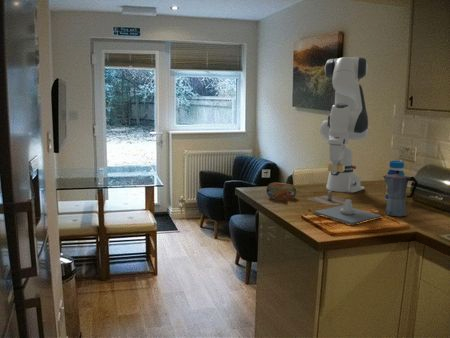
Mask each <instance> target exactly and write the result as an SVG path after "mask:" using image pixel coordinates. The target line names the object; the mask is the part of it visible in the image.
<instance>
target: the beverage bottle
mask: <svg viewBox="0 0 450 338" xmlns="http://www.w3.org/2000/svg"><path fill="white" fill-rule="evenodd" d="M389 168H390V169H388V172H387V173H386V175H393V174H396V171H397V170H398V171H399V174H400V175H404V176H406V175H405V172H404V170H403V169H404V168H405V162H404V161H402V160H390V161H389ZM385 187H386V188H385V196H384V199H385V200H386V201H388V190H387V184H386V186H385Z"/></svg>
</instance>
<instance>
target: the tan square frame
mask: <svg viewBox="0 0 450 338" xmlns="http://www.w3.org/2000/svg"><path fill="white" fill-rule="evenodd" d="M344 169H345V164H340V163H338V165H337V170H336V172H343V171H344ZM330 171H334V170H333V163H331V162H330V163H328V165H327V172H330Z"/></svg>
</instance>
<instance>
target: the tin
mask: <svg viewBox="0 0 450 338" xmlns="http://www.w3.org/2000/svg"><path fill="white" fill-rule="evenodd" d="M265 190H266V194H267V196H268V198H270V199H272V200H277V201H284V202H288V201H289V199H295V198H296V195H297V189H296V186H294V185H293V184H291V183H283V182H276V181H275V182H271V183H269V184H268V185H267V186H266V189H265Z"/></svg>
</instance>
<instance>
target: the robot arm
mask: <svg viewBox="0 0 450 338" xmlns="http://www.w3.org/2000/svg"><path fill="white" fill-rule="evenodd" d="M323 70H324V74H325V77H326V78H328V79H331V81H332V82H331V83H332V88H333V90H334V91H335V93H334V104H332V106H331V110H330V113H329V114H328V116H327V119H325V120H323V121H322V122H321V123H320V127H319V133H320V135H321V136H322V138H324V139H325V140H326V142H327V143H328V145H329V161H330V163H333V170H334V171H329V174H328V178H327V183H326V184H325V187H326V190H327V191H332V192H338V193H356V192H359V191H363V190H365V186H362V185H361V178H360V177H359V176H358V175H357V174H356V173H355V172H354V170H356V169H357V166H356V165H354V164H353V150H352V149H351V148H350V147H348V146H347V145H348V144H349V141H357V140H359V141H361V140H363V139H365V138H367V136H368V134H369V130H370V129H369V123H370V121H369V116H368V111H367V108H366V107H367V106H366V101H365V94H364V91H363V86H362V85H361V84H360V83H358V82H359V81H360V80H361V79H363V78H364V77H365V76H366V75H367V73H368V71H369V64H368V62H367V59H366V58H364V57H354V56H353V57H352V56H351V57H349V56H343V57H339V58H338V57H337V58H330V59H327V61H326V63H325V65H324V69H323ZM356 79H358V80H356ZM357 81H358V82H357ZM338 163H340V164H345V169H344V171H343V172H336V170H337V165H338Z"/></svg>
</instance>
